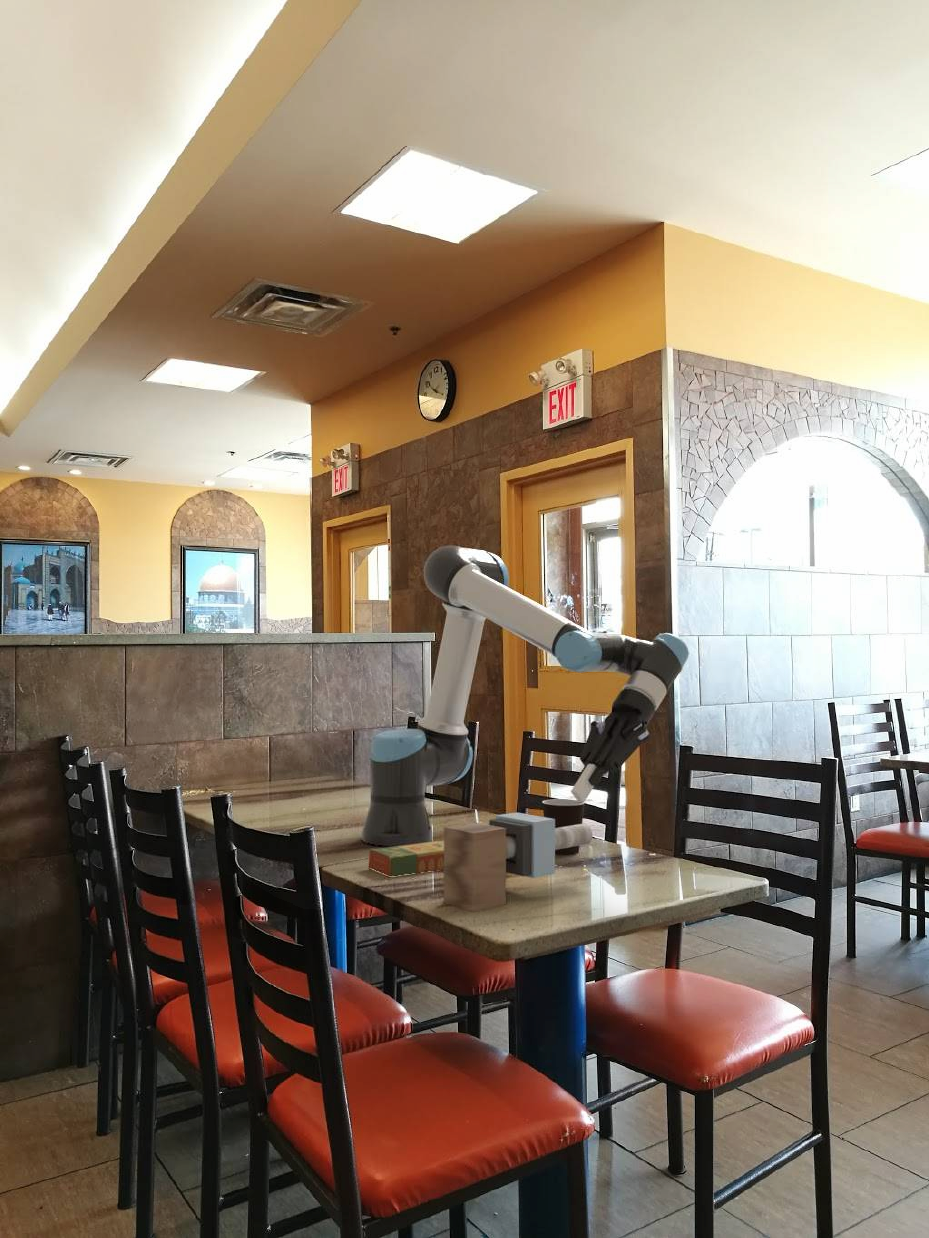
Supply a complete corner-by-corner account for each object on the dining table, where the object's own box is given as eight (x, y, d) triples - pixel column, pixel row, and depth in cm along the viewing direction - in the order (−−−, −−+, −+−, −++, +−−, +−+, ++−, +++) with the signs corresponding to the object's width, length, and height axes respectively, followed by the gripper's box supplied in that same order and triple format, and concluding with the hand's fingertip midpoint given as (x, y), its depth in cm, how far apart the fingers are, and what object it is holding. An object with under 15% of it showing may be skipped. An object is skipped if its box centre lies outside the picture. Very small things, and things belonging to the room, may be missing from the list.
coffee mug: (582, 856, 188) (582, 806, 189) (539, 854, 190) (539, 804, 190) (587, 845, 200) (587, 798, 200) (546, 843, 201) (546, 796, 202)
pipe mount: (443, 902, 152) (444, 827, 152) (569, 875, 171) (570, 808, 172) (473, 911, 146) (473, 833, 147) (599, 882, 166) (599, 813, 167)
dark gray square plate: (489, 867, 159) (489, 819, 159) (497, 866, 160) (497, 818, 161) (522, 876, 153) (523, 826, 153) (531, 874, 154) (531, 824, 155)
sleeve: (495, 868, 161) (495, 815, 161) (516, 864, 164) (516, 812, 164) (533, 878, 154) (534, 822, 154) (554, 873, 157) (555, 819, 158)
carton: (465, 869, 178) (465, 846, 178) (390, 880, 169) (390, 856, 169) (441, 861, 185) (441, 839, 185) (368, 870, 176) (368, 847, 176)
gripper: (675, 716, 176) (615, 815, 165) (620, 712, 186) (560, 805, 175) (657, 688, 173) (595, 787, 161) (603, 685, 183) (540, 778, 171)
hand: (577, 796), depth 168 cm, fingers closed
